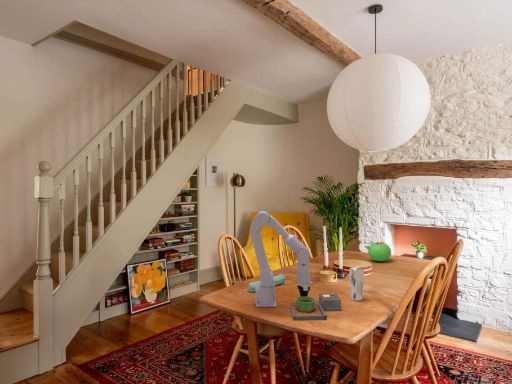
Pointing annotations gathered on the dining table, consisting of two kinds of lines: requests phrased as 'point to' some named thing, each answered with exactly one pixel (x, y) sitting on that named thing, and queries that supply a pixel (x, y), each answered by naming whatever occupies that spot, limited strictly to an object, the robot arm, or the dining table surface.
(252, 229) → the robot arm
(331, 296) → the box
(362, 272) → the beer glass
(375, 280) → the dining table surface
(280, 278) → the teal cylinder
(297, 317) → the frame
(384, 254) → the green round body
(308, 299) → the ramekin
